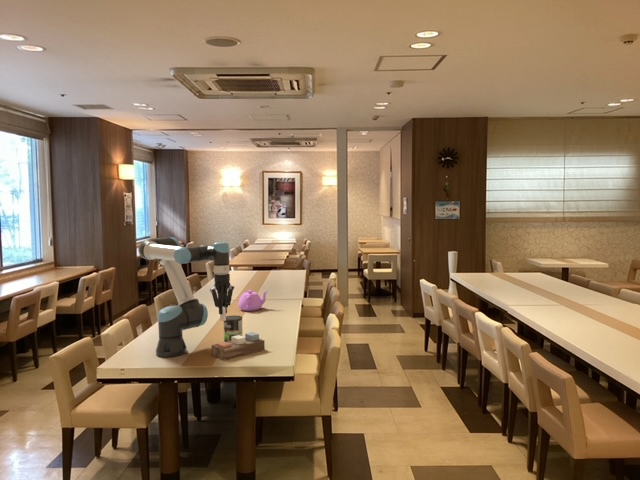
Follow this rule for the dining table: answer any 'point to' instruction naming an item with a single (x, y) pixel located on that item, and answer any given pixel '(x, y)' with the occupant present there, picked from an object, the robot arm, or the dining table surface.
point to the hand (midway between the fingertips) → (223, 320)
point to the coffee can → (232, 327)
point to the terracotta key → (223, 345)
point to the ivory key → (238, 339)
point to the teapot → (251, 301)
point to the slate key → (252, 336)
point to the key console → (238, 349)
